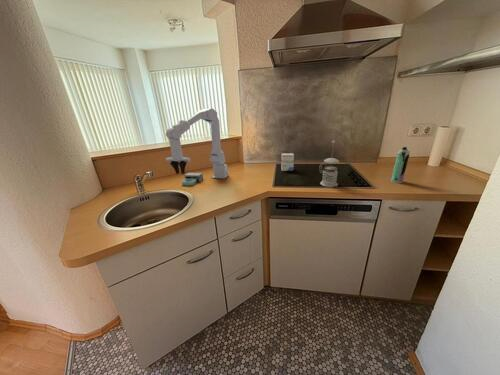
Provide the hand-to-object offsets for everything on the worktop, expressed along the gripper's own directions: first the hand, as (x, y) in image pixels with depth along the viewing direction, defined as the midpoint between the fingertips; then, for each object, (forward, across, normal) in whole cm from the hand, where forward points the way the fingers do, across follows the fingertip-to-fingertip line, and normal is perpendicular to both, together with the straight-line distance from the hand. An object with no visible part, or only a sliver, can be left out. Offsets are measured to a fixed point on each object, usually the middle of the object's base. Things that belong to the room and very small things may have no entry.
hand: (180, 173), depth 118 cm
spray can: (+10, +123, +27) cm, 126 cm away
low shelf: (+9, 0, +14) cm, 17 cm away
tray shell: (+9, 0, +8) cm, 12 cm away
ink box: (+10, +59, +44) cm, 74 cm away
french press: (+10, +84, +19) cm, 87 cm away
